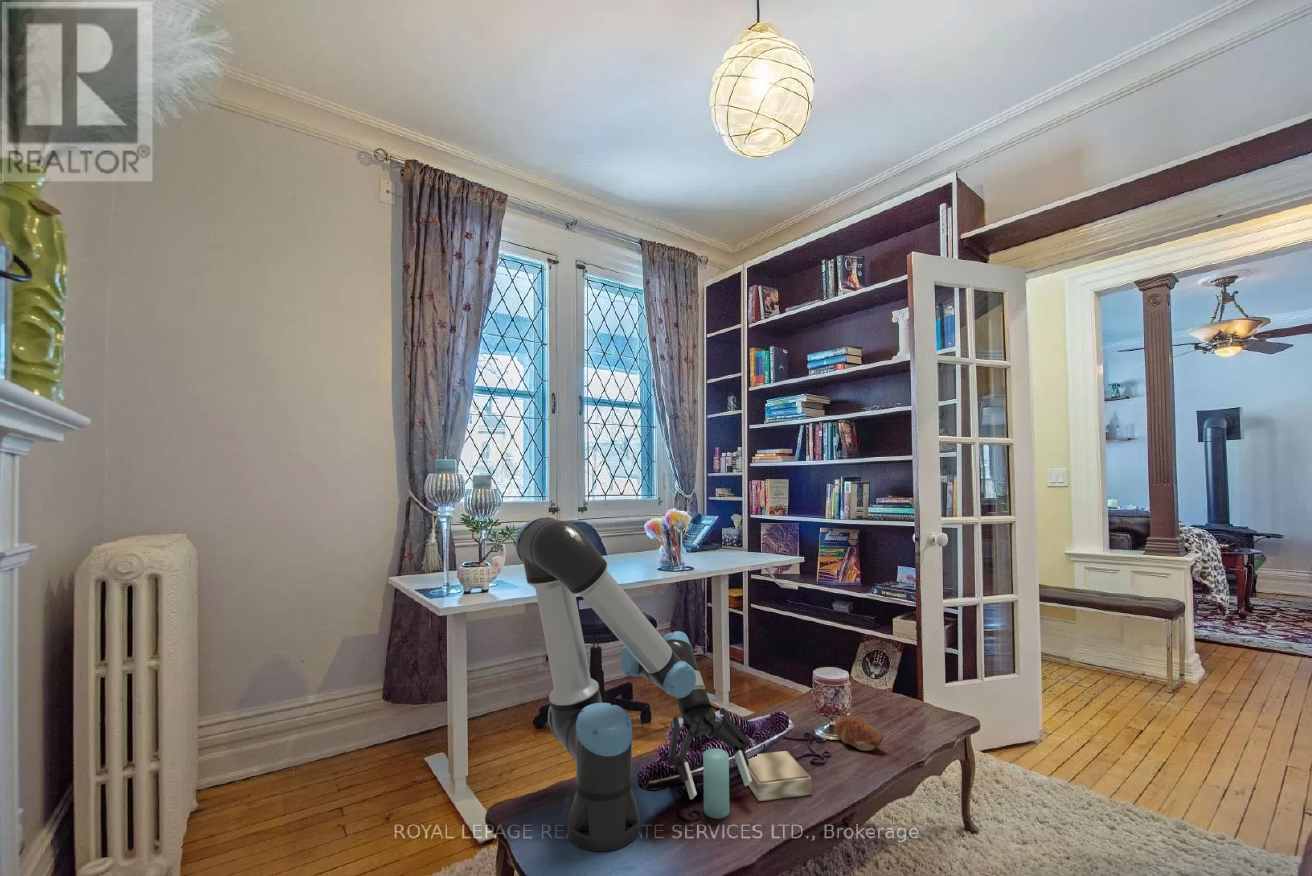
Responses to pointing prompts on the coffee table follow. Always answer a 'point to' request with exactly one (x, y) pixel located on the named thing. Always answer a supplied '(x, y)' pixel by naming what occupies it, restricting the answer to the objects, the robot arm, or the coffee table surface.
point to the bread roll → (858, 733)
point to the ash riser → (777, 776)
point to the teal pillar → (716, 783)
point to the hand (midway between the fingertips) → (721, 790)
